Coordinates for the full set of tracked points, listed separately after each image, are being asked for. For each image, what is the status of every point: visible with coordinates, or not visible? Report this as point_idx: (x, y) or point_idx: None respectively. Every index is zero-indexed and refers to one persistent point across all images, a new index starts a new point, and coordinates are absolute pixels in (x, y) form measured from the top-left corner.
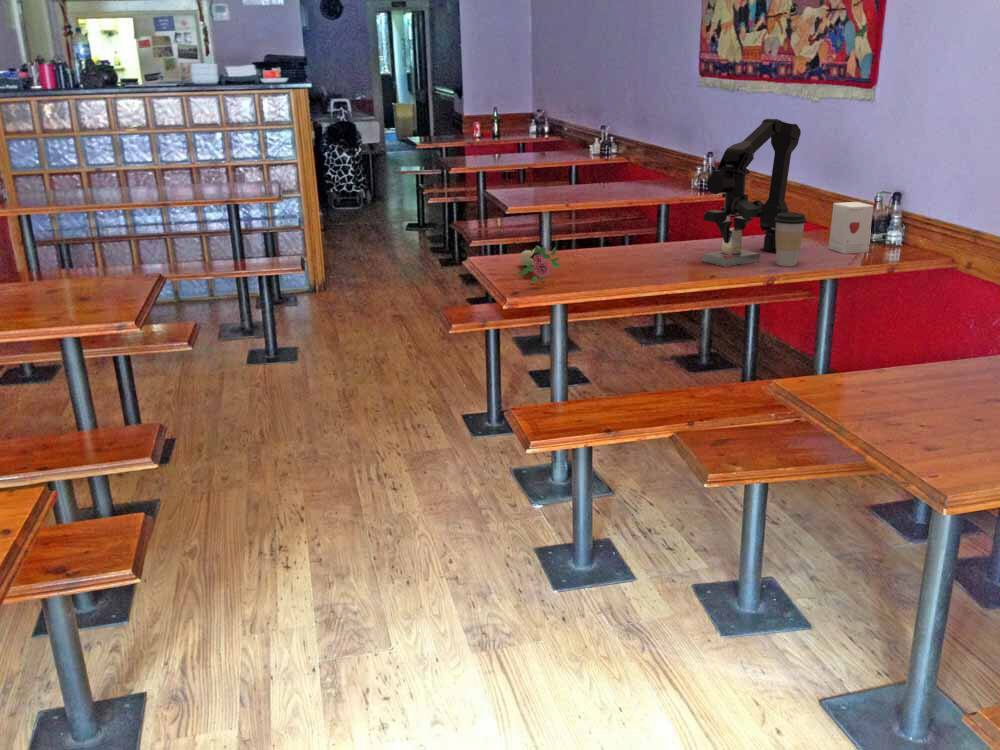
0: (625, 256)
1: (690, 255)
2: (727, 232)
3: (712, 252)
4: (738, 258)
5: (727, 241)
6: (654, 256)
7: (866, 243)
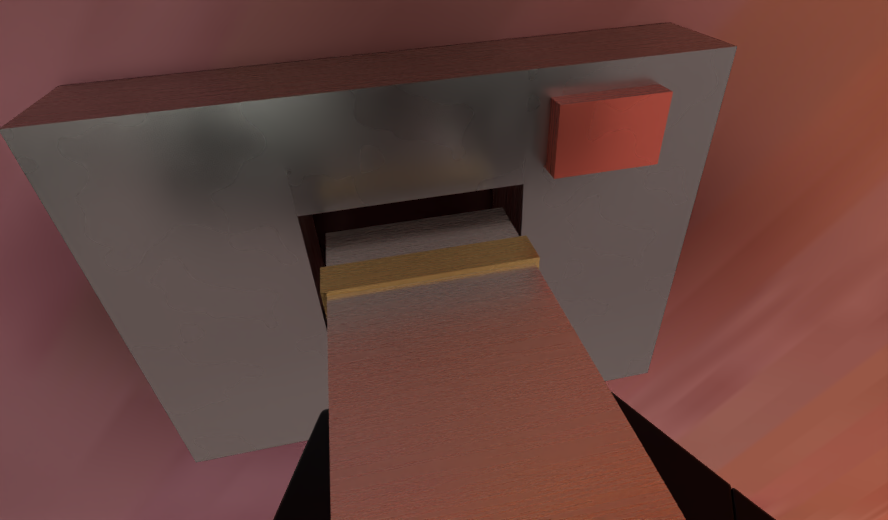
0: (796, 502)
1: None
2: (725, 505)
3: None
4: (477, 65)
5: None
6: None
7: None
